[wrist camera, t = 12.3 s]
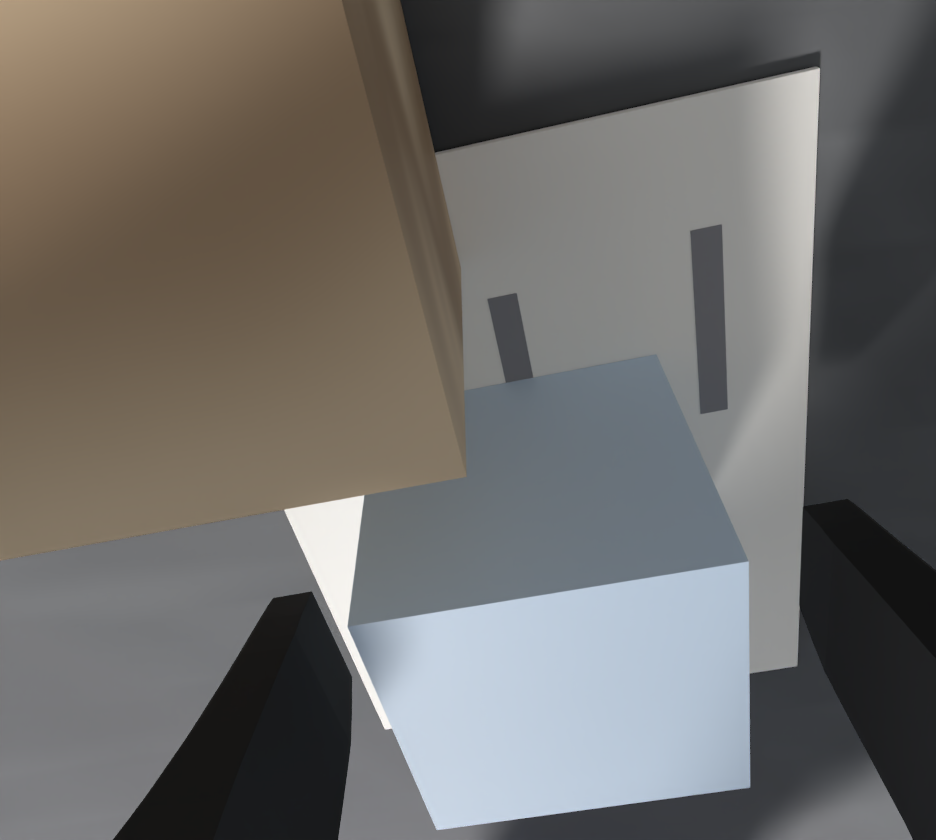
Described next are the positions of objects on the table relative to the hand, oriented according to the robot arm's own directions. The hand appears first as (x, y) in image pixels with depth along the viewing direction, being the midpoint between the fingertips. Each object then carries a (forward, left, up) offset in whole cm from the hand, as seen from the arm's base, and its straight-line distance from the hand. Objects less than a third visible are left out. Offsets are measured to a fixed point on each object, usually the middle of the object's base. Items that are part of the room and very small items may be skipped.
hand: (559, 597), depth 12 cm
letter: (0, 0, -3) cm, 3 cm away
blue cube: (0, 0, -2) cm, 3 cm away
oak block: (+7, +3, -2) cm, 8 cm away
